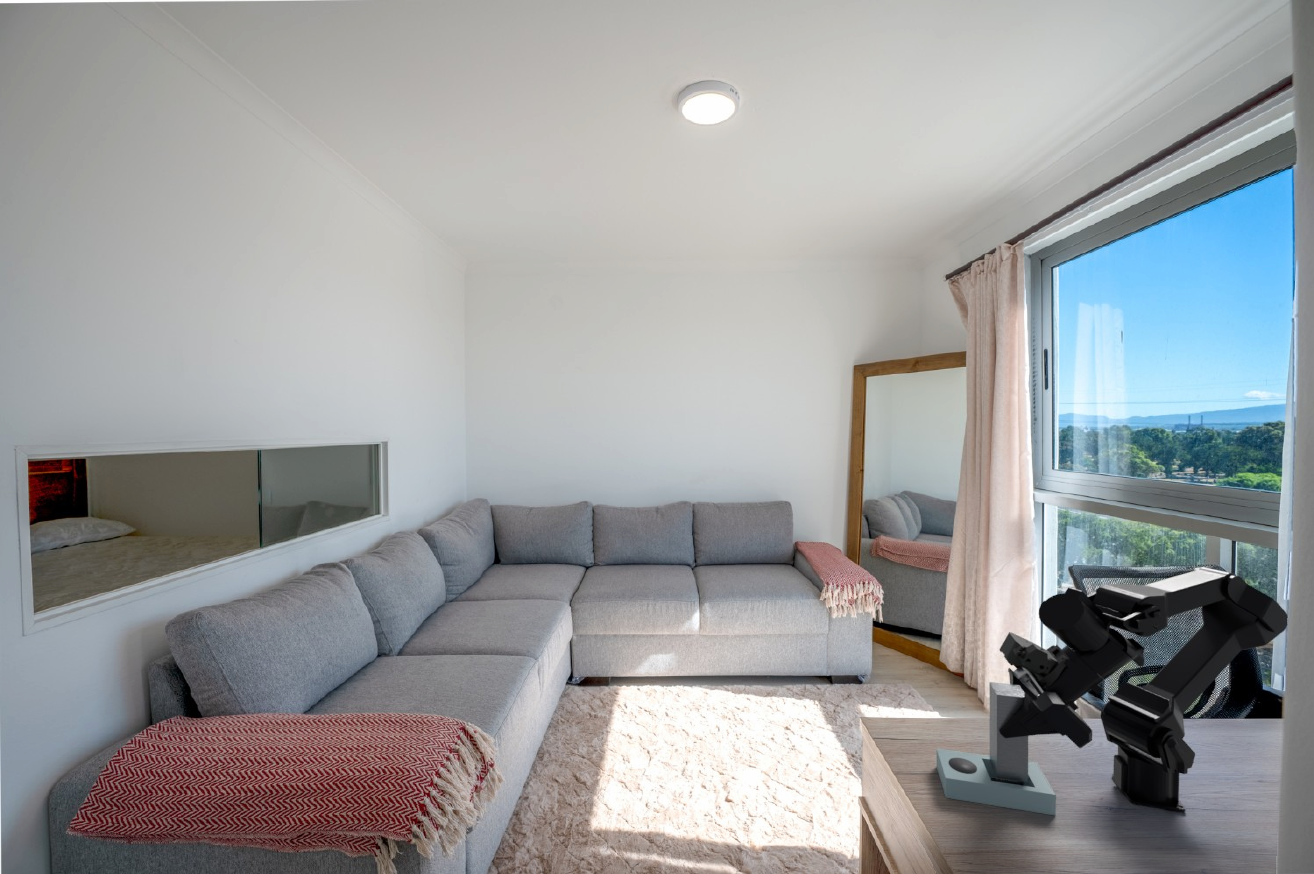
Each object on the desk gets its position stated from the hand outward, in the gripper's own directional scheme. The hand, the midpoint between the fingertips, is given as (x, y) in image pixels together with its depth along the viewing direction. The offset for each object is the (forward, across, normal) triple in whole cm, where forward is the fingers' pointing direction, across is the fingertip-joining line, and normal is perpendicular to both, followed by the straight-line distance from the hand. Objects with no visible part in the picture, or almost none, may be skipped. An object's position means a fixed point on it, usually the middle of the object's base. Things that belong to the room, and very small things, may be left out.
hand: (997, 726), depth 85 cm
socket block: (+7, 0, +6) cm, 10 cm away
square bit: (+4, 0, +6) cm, 7 cm away
